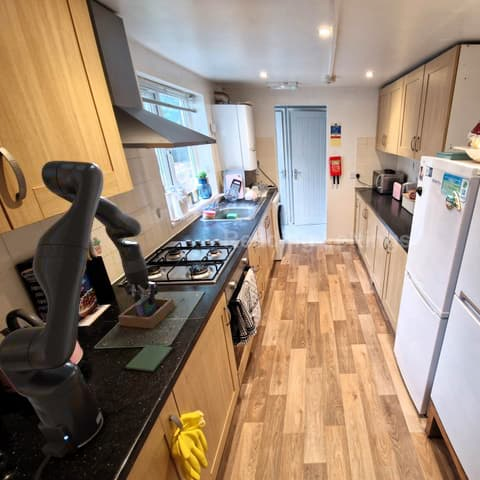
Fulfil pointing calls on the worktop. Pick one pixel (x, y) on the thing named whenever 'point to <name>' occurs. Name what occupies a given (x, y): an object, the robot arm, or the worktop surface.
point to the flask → (145, 307)
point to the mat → (149, 358)
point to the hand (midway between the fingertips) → (145, 303)
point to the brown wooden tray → (147, 322)
